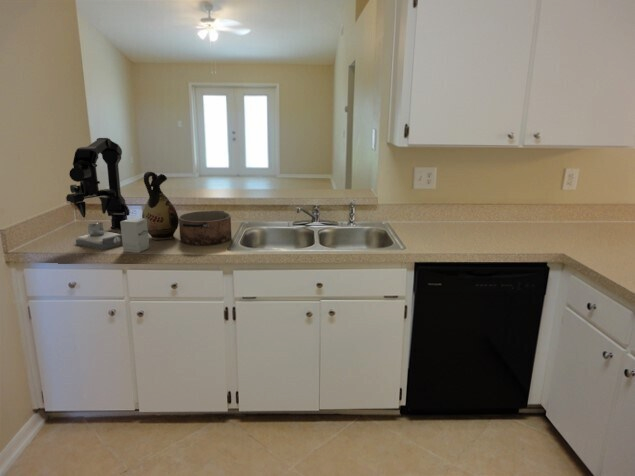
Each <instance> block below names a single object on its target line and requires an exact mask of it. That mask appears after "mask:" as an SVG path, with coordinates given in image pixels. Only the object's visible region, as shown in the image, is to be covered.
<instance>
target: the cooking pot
mask: <svg viewBox="0 0 635 476" xmlns="http://www.w3.org/2000/svg"><path fill="white" fill-rule="evenodd" d="M178 218H179V224H178V227H179V239H180V242H181V243H183V244H184V245H189V246H200V247H202V246H203V247H205V246H206V247H207V246H215V245H221V244H224V243H227V242H229V241H231V240H232V216H231V213H229V212H225V211H224V210H202V211H201V210H199V211H191V212H185V213H183V214H180V215H178Z"/></svg>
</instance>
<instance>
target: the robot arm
mask: <svg viewBox="0 0 635 476" xmlns="http://www.w3.org/2000/svg"><path fill="white" fill-rule="evenodd" d="M122 153H123V151H122V148H121V146H120V145H119V144H118V143H116V142H114V141H112V140H111V139H110V138H108V137H98V138H96V140H95V141H93V142H92V143H91V144H89V145H88V146H81V147H78V148H76V150H75V153H74V156H73V162H72V166H73V167H71V169H70V170H69V174H68V175H69V177H70V179H71V180H72V181H73V182H75V183H79V185H77V184H70V185H69V189H70V192H71V193H68V194H67V195H66V198H65V199H66V202H70V204H74V205H75V206H76V208H77V209H78V211H79V213H80V214H81V216H82V218H86V215H87V213H86V201H84V200H85V199H92V198H99V200H100V204H101V212H102V214H103V215H105V214H106V212H107V215H108V217H111V219H110V220H111V226H110V228H111V229H115V230H121V224H120V222H121V221H124V220H127V219H128V216H130V214H131V212H130V208H129V207H128V205H127V203H126V200H125V198H124V196H123V195H122V193H121V192H122V191H121V181H120V171H119V170H120V169H119V163H120V162H121V160H122ZM99 154H100V155H101V157H102V160H103V161H104V162H105V164H106V168H107V169H106V170H107V177H108V178H107V179H108V188H104V189H99V184H101V181H100V180H98V174H97V167H98V164H97V162H98V160H99V157H100V156H99Z"/></svg>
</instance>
